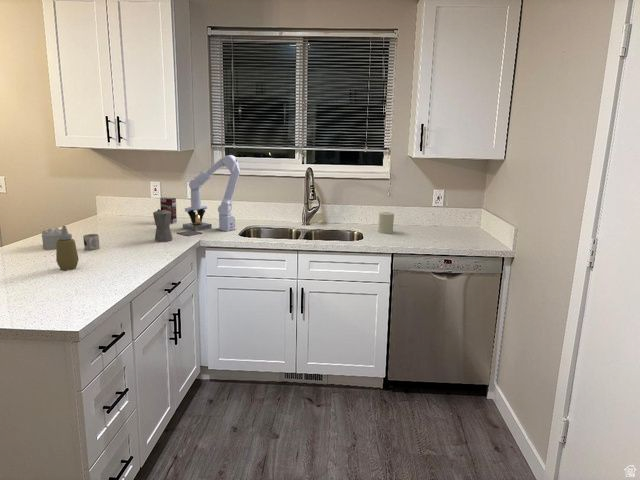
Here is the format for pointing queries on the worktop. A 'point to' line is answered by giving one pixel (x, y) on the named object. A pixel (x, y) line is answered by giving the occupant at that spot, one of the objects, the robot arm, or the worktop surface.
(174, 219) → the supplement box
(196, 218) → the end cap
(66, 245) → the squeeze bottle
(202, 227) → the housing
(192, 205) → the robot arm
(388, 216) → the can
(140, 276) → the worktop surface
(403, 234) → the worktop surface
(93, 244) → the mug
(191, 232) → the mat
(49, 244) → the lumpy-topped squat cylinder
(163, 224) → the coffeepot
